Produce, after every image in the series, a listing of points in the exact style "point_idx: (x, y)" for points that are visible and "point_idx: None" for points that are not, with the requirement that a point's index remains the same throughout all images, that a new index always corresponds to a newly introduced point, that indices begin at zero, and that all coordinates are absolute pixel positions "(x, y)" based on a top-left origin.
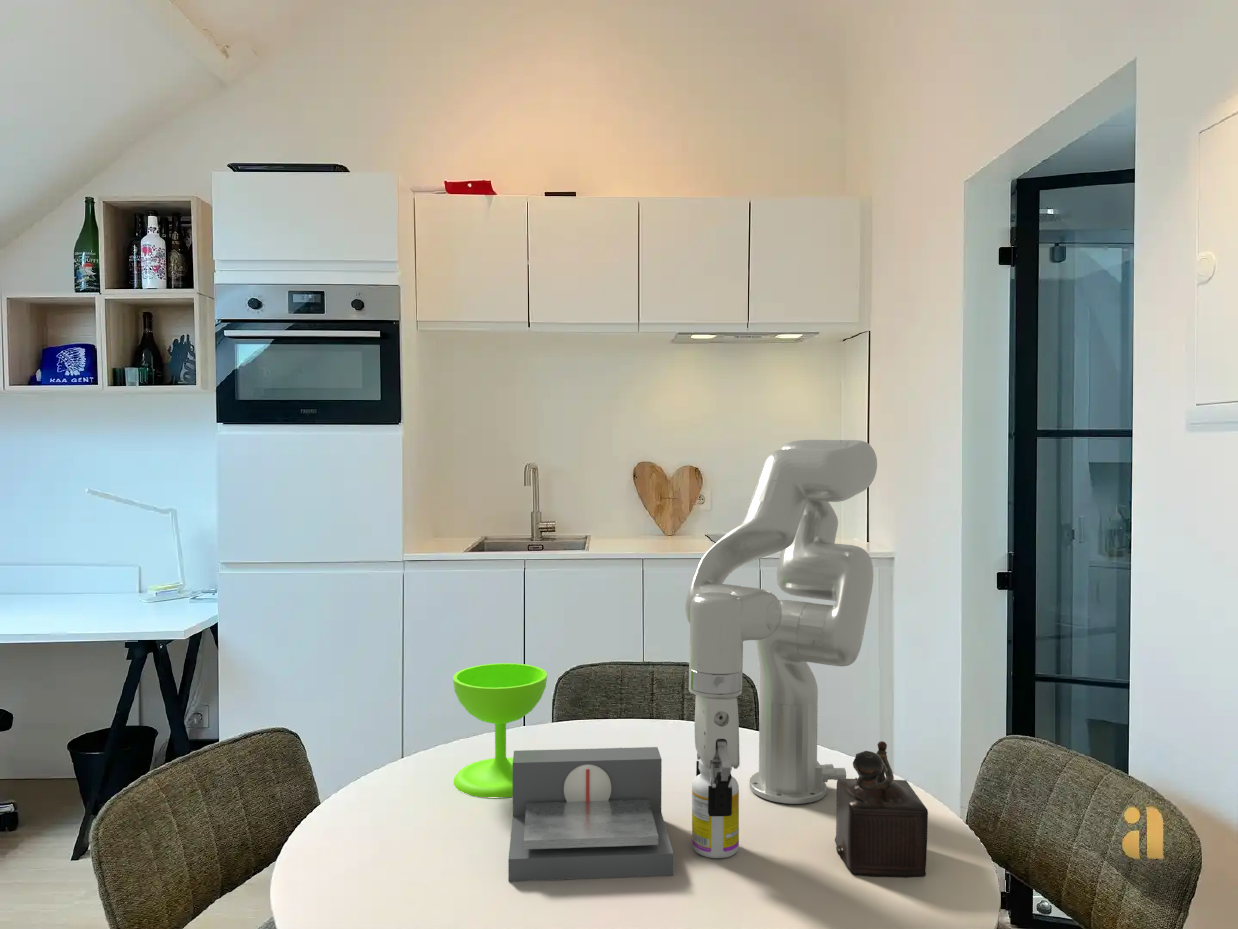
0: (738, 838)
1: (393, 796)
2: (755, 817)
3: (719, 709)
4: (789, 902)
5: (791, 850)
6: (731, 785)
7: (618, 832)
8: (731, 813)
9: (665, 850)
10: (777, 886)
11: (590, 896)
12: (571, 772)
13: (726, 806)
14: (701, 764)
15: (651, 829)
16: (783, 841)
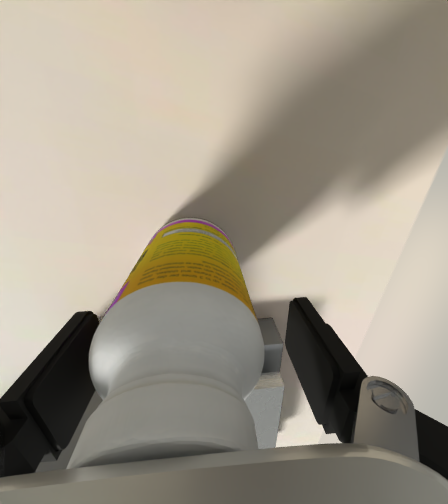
0: (206, 226)
1: None
2: (10, 143)
3: None
4: (392, 158)
5: (193, 88)
6: (405, 395)
7: (262, 427)
8: (306, 298)
9: (272, 353)
10: (337, 167)
11: (301, 388)
12: None
13: (333, 332)
14: None
15: (258, 395)
16: (145, 97)
